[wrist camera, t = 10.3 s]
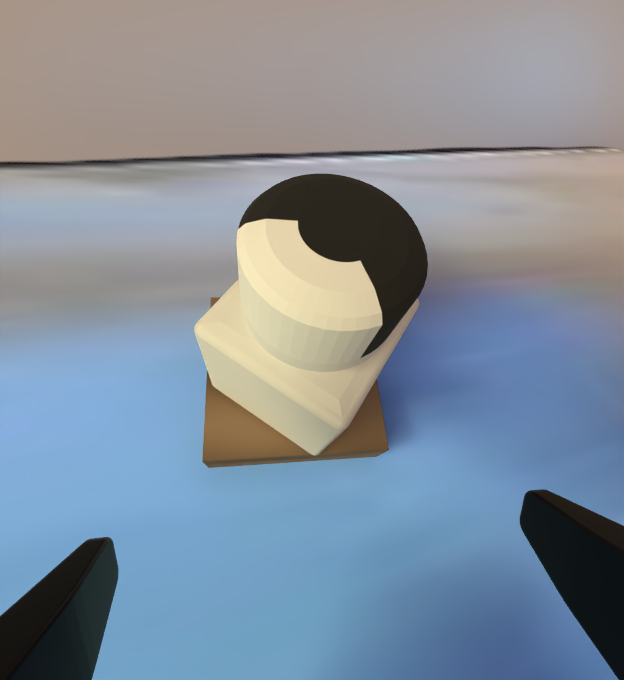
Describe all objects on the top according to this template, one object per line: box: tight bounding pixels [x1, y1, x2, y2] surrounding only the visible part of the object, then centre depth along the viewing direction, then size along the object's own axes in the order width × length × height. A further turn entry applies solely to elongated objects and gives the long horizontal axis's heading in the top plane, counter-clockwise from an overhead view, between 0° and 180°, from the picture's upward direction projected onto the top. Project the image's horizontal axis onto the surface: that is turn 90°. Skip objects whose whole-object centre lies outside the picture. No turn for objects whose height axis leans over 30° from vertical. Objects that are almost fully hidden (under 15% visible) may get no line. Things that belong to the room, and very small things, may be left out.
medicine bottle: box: [194, 174, 428, 456], centre depth 16 cm, size 7×7×12 cm
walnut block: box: [203, 298, 389, 468], centre depth 23 cm, size 10×10×3 cm
